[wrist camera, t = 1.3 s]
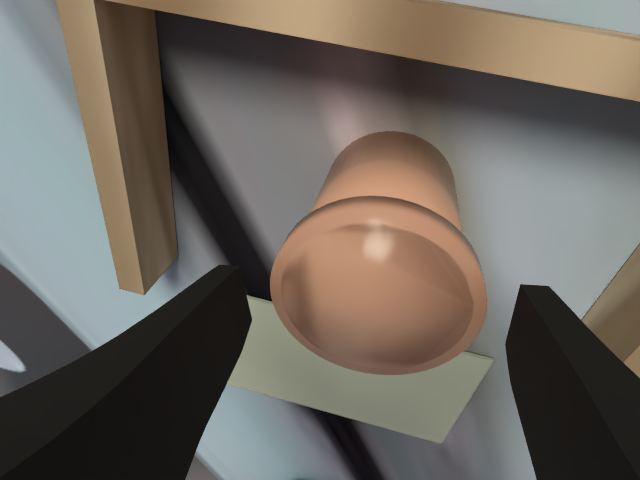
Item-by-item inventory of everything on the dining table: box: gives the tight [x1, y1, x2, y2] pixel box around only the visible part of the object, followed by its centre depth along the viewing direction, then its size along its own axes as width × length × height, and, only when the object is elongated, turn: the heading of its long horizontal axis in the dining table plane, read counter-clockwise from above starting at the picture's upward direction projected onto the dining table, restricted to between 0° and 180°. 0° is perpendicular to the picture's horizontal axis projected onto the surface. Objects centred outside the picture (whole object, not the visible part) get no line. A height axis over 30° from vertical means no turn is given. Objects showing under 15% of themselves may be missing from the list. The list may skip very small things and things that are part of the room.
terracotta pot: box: [270, 131, 487, 375], centre depth 13 cm, size 6×6×6 cm
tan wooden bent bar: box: [56, 0, 640, 378], centre depth 14 cm, size 21×13×3 cm, turn 82°
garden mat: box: [227, 295, 493, 444], centre depth 22 cm, size 14×8×1 cm, turn 82°
